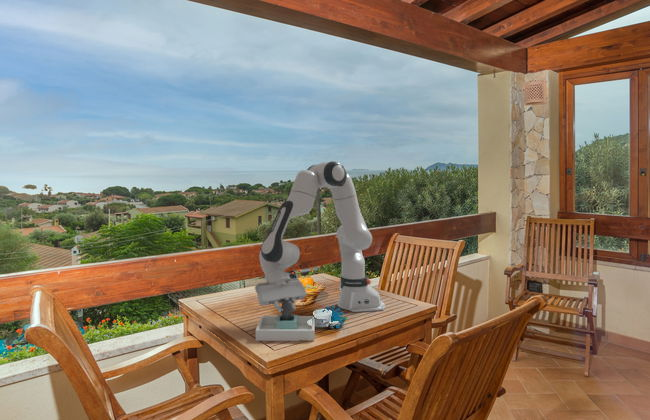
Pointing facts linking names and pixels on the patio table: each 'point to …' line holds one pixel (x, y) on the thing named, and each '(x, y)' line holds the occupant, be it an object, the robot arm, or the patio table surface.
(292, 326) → the walled box
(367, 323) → the patio table surface
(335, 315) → the gear
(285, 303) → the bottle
